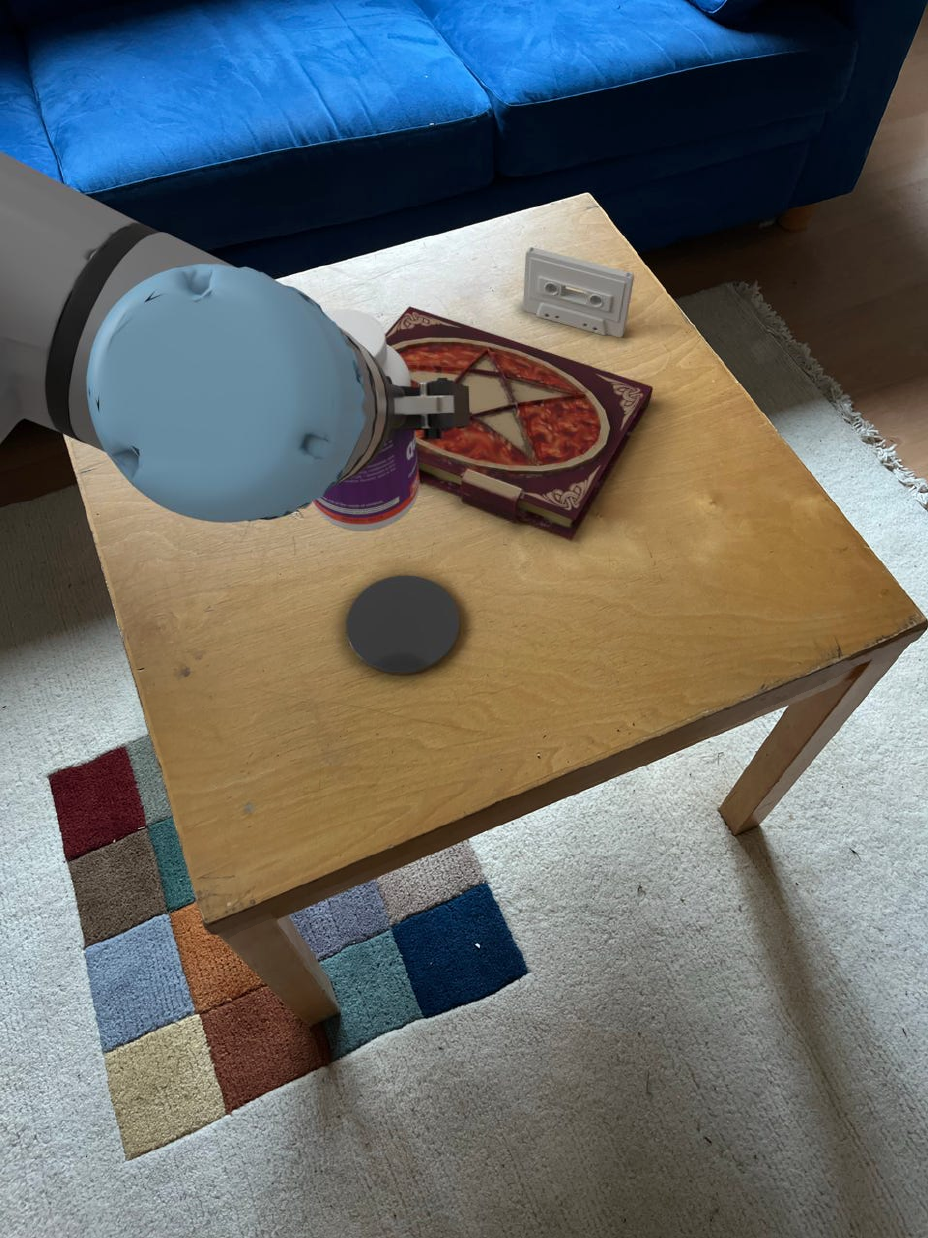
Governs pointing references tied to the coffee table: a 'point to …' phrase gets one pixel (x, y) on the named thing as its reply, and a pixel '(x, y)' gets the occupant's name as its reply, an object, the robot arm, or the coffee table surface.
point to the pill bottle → (394, 471)
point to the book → (519, 422)
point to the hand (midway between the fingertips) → (360, 411)
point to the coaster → (402, 625)
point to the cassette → (587, 311)
